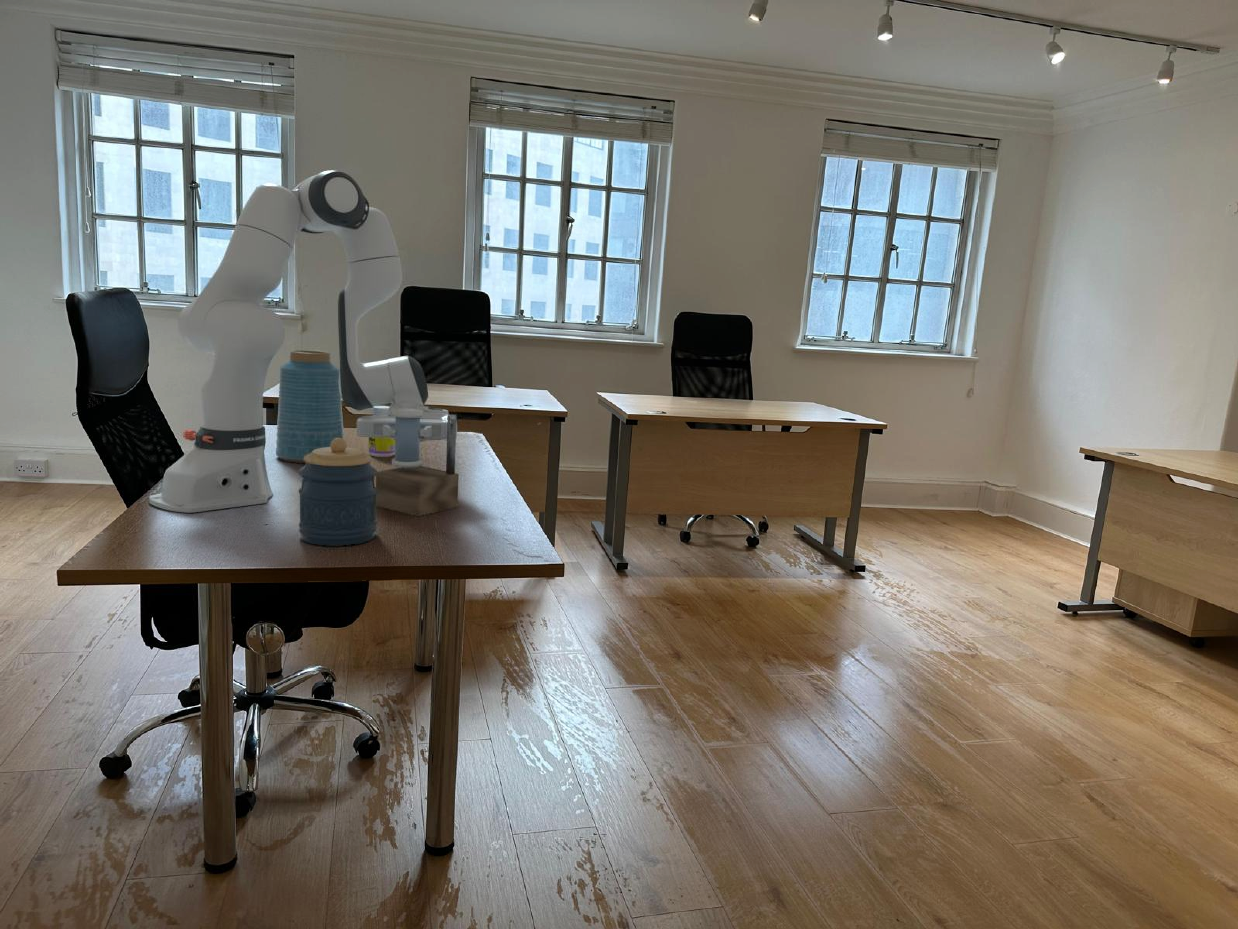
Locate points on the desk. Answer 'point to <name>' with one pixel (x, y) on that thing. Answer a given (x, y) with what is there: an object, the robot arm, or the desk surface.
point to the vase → (308, 405)
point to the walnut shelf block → (416, 490)
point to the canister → (337, 496)
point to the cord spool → (407, 438)
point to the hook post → (451, 444)
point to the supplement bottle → (378, 444)
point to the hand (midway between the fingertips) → (407, 433)
